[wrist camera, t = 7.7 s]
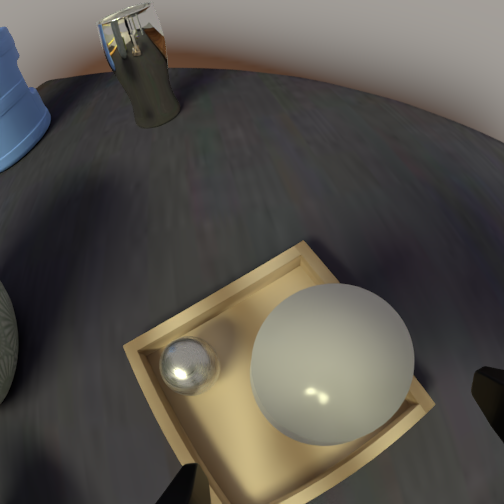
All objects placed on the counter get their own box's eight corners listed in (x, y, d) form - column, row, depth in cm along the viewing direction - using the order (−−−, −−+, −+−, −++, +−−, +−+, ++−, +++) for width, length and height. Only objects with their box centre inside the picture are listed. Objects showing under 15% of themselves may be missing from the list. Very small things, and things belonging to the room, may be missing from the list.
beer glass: (187, 118, 34) (155, 5, 22) (132, 137, 34) (89, 30, 21) (180, 95, 38) (154, -2, 25) (133, 111, 37) (98, 18, 25)
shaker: (318, 450, 15) (358, 481, 6) (250, 405, 17) (206, 380, 8) (364, 383, 17) (445, 329, 8) (299, 342, 19) (309, 249, 10)
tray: (237, 528, 13) (232, 537, 11) (135, 353, 20) (122, 345, 18) (422, 407, 16) (435, 404, 14) (302, 255, 23) (303, 240, 21)
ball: (187, 408, 17) (166, 403, 14) (162, 361, 19) (139, 347, 16) (236, 381, 18) (225, 371, 15) (208, 335, 20) (193, 316, 17)
